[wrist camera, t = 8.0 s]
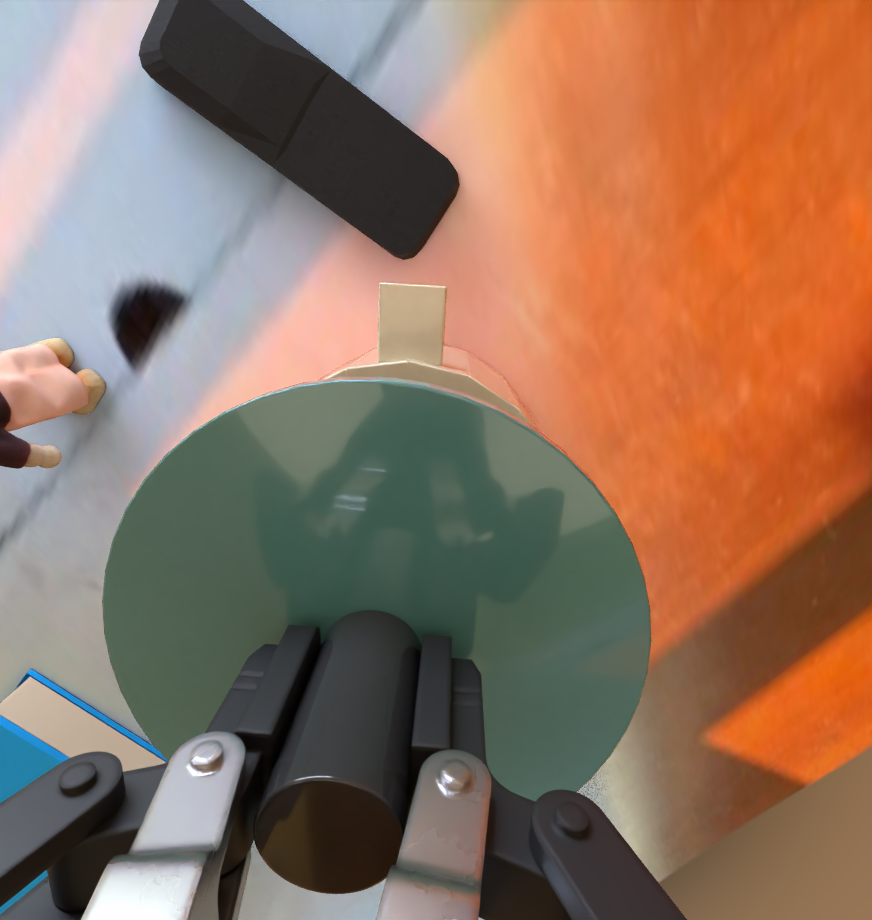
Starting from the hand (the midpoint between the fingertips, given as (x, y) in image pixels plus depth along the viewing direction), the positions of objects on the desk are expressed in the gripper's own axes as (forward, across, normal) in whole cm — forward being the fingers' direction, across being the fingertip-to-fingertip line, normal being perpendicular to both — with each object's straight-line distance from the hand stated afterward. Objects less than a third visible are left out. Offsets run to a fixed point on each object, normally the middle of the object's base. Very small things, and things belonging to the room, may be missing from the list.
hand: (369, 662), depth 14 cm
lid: (+1, 0, 0) cm, 1 cm away
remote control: (+18, +6, -16) cm, 25 cm away
